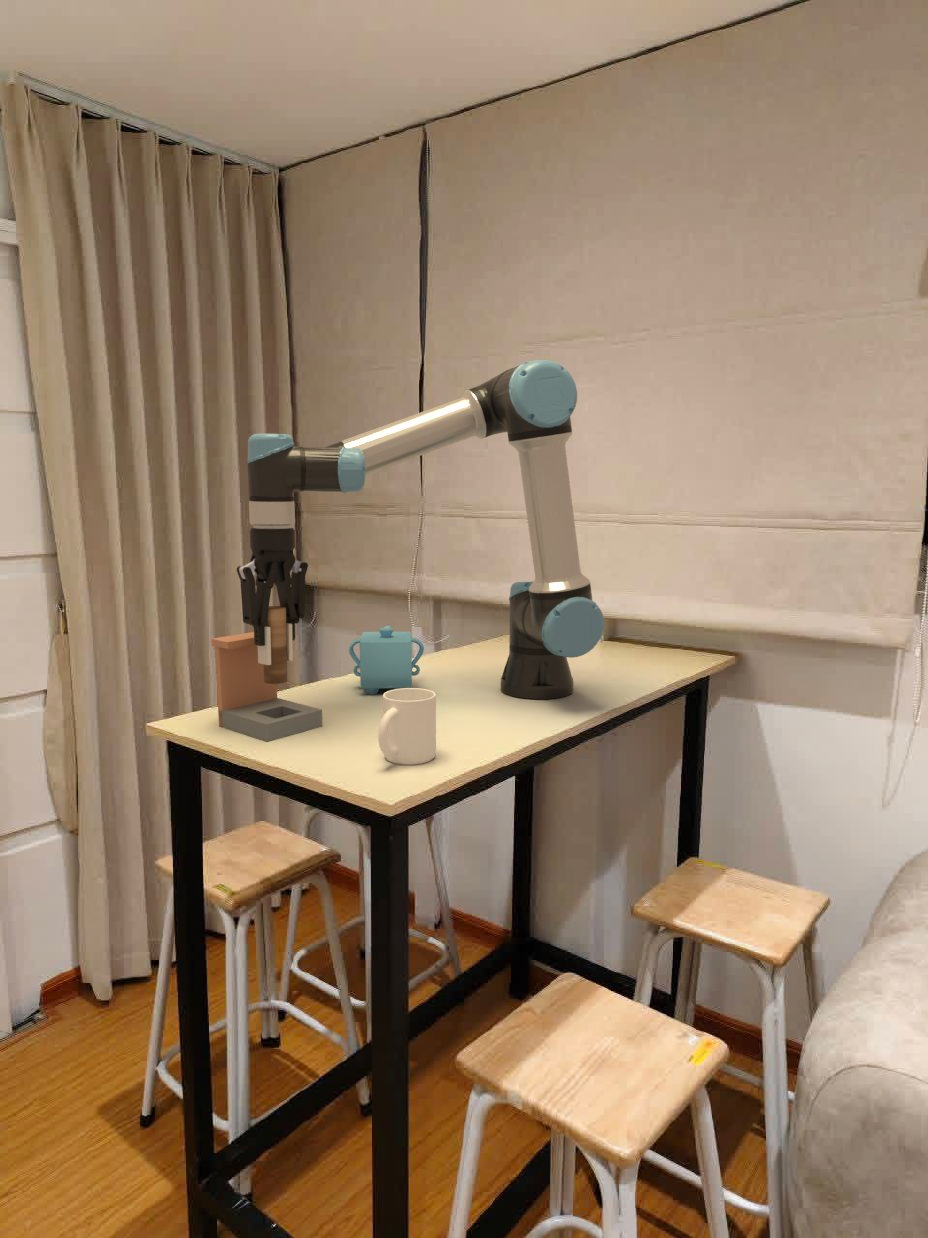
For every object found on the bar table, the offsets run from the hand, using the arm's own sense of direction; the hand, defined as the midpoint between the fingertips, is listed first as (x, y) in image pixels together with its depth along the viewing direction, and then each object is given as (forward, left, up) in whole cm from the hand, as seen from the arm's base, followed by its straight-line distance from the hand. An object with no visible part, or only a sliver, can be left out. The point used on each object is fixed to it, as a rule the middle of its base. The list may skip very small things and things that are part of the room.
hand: (275, 661), depth 149 cm
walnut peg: (0, 0, -4) cm, 4 cm away
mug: (-29, -2, -12) cm, 31 cm away
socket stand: (+2, 0, -12) cm, 12 cm away
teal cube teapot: (+8, -35, -12) cm, 38 cm away
